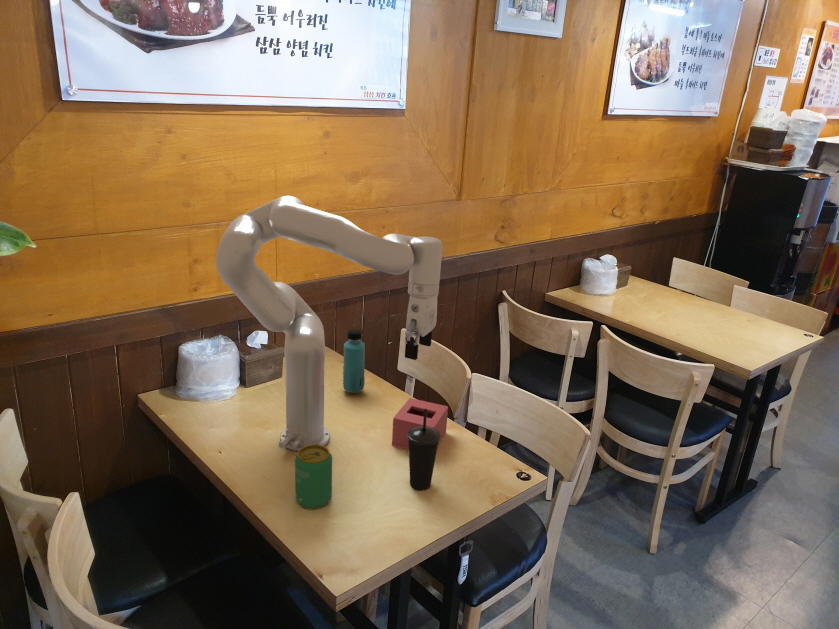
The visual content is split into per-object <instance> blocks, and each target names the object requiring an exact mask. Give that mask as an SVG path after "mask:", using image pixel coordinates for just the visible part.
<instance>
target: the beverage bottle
mask: <svg viewBox="0 0 839 629" xmlns="http://www.w3.org/2000/svg"><path fill="white" fill-rule="evenodd" d="M361 339H362V331H361V330H360V329H356V328H354V329H349V330H348V331H347V341H346V342H344V343H343V366H342V371H343V372H342V382H343V383H342V387H343V390H344V391H345V392H348V393H351V394H352V393H356V394H357V393H360V392H362V391H363V390H364V388H365V380H366V378H365V376H366V375H365V368H366V367H365V362H366V361H365V360H366V358H365V357H366V356H365V352H366V350H365V348H366V345H365V343H364V342H363V341H362V340H361Z"/></svg>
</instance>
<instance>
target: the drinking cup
mask: <svg viewBox="0 0 839 629" xmlns="http://www.w3.org/2000/svg"><path fill="white" fill-rule="evenodd" d="M426 419H427V409H424V419H423V426H416V427H413V428H411V429H409V431H408V432H407V437H408V444H409V449H408V466H409V467H408V468H409V470H408V471H409V486H410V487H411V488H412V489H413V490H415V491H420V492H422V491H426V490H428V489H429V488H430V487H431V484H432V479H433V473H434V469H435V463H436V458H437V452H438V446H439V444H438V442H439V440H440V437H441V435H440V433H439V431H438V430H436V429H435V428H432V427H429V426H426Z"/></svg>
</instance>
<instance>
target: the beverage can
mask: <svg viewBox="0 0 839 629" xmlns="http://www.w3.org/2000/svg"><path fill="white" fill-rule="evenodd" d="M294 477H295V478H294V487H295V488H294V489H295V491H294V492H295V496H294V497H295V500H296V501H297V504H298V505H299V506H300V507H302V508H304V509H306V510H318V509H322V508H323V507H325V506H326V505H328V504H329V502H330V500H331V499H332V497H333V495H332V494H333V492H332V491H333V486H332V485H333V456H332V453H331V452H330V450H329V449H328V447H327V446H322V445H307V446H304V447H302V448H301V449H300V450H299V451H297V454H296V455H295V457H294Z"/></svg>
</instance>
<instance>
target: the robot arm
mask: <svg viewBox="0 0 839 629" xmlns="http://www.w3.org/2000/svg"><path fill="white" fill-rule="evenodd" d="M279 237H280V238H283V239H285V240H289V241H292V242H295V243H299V244H303V245H306V246H308V247H309V246H310V247H314V248H317V249H320V250H324V251H327V252H330V253H333V254H335V255H337V256H339V257H341V258H344V259H346V260H349V261H351V262H353V263H355V264H357V265H361V266H363V267H366V268H369V269H372V270H375V271H379V272H382V273H386V274H389V275H390V274H391V275H403V274H405V273H407V272H408V273H409V274H408V285H407V288H408V289H407V293H408V294H409V298H408V299H409V300H408V305H407V314H406V321H405V322H406V326H405V332H404V335H405V338H404V339H405V342H404V344H405V345H404V346H405V347H404V348H405V349H404V358H405V359H410V360H413V361H417V359H418V354H419V345H420V346H426V347H431V346H432V339H433V331H434V330H433V329H435V327H436V325H437V321H438V320H437V319H438V318H437V317H438V316H437V315H438V297H439V293H440V292H439V289H440V279H441V268H442V258H443V249H444V248H443V242H442V240H440V239H439V238H436V237H432V236H425V235H424V236H418V237H417V236H411V235H406V234H400V233H389V234H386V235H384V236H382V237H379V236H376V235H374V234H371V233H369V232H367V231H365V230H363V229H362V228H359V226H357V225H355V224H354V223H353V222H352V221H351V220H349V219H347V218H345V217H343V216H341V215H337V214H333V213H330V212H326V211H323V210H320V209H316V208H314V207H311V206H307V205H305V204H304V203H303V201H302V200H300V199H299V198H298V197H295V196H292V195H284V196H280V197H277V198H276V199H273V200H271V201H269V202H268V203H265V204H263V205H261V206H259V207H256V208H255V209H252V210H250V211H248V212H245V213H243V214H241V215H239V216H237V217H236V218H234V219H233V220H232V221H231V222H230V224H228V227H227V228H226V230H225V232H224V233H223V235H222V237H221V239H220V242H219V244H218V246H217V250H216V254H215V267H216V270H217V274H218V275H219V277H220V279H221V280H222V281H223V283H224V284H225V285H226V286H227V287H228V288H229V289H230V290H231V291H232V292H233V294H234V295H235V296H236V297H237V298H238V299H239V300H240V302H241V304H243V305H244V306H245V307H246V309H247V310H249V311H250V313H251V314H252V315H253V316H254V317H255V318H256V319H257V320H258V322H259V323H260V324H261V325H262V326H263V327H264V328H265V329H267V330H269V331H270V332H276V333H279V332H280V333H281V332H283V333H284V334H285V339H284V351H283V352H284V365H285V366H284V369H285V370H284V371H285V372H284V375H285V410H286V411H285V412H286V414H285V416H286V417H285V418H286V421H285V422H286V426H285V427H286V428H284V429H283V430H282V431H281V432H280V442H279V443H278V448H279V449H280V450H285V449H286V448H287V449H289V450H291V451H295V452H298V451H299V450H300V449H301V448H302V447H304V446H307V445H322V446H324V447H326V445H327V444H328V443H329V442H330V438H331V434H330V431H329V430H328V429H327V428H326V427H325V361H326V360H325V359H326V358H325V357H326V342H325V330H324V325H323V323H322V321H321V319H320V317H319V316H318V315H317V314H316V313H315V311H313V308H311V307H310V306H309V304H308V303H306V301H305V300H304V299H303V298H302V297H301V296H300V295H299V293H298V292H297V291H296V290H295V289H294V288H293V287H291V286H290V285H288V284H287V283H284V282H281V281H273V280H272V279H271V278H270V277H269V276H268V275H267V273H266V272H265V271H263V269H262V268H260V267H259V266H258V265H257V263H256V257H257V255H258V253H259V252H260V250H261V247H262V245H264V244H267V243H268V242H270V241H273V240H275V239H277V238H279ZM414 336H415V337H414Z"/></svg>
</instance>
